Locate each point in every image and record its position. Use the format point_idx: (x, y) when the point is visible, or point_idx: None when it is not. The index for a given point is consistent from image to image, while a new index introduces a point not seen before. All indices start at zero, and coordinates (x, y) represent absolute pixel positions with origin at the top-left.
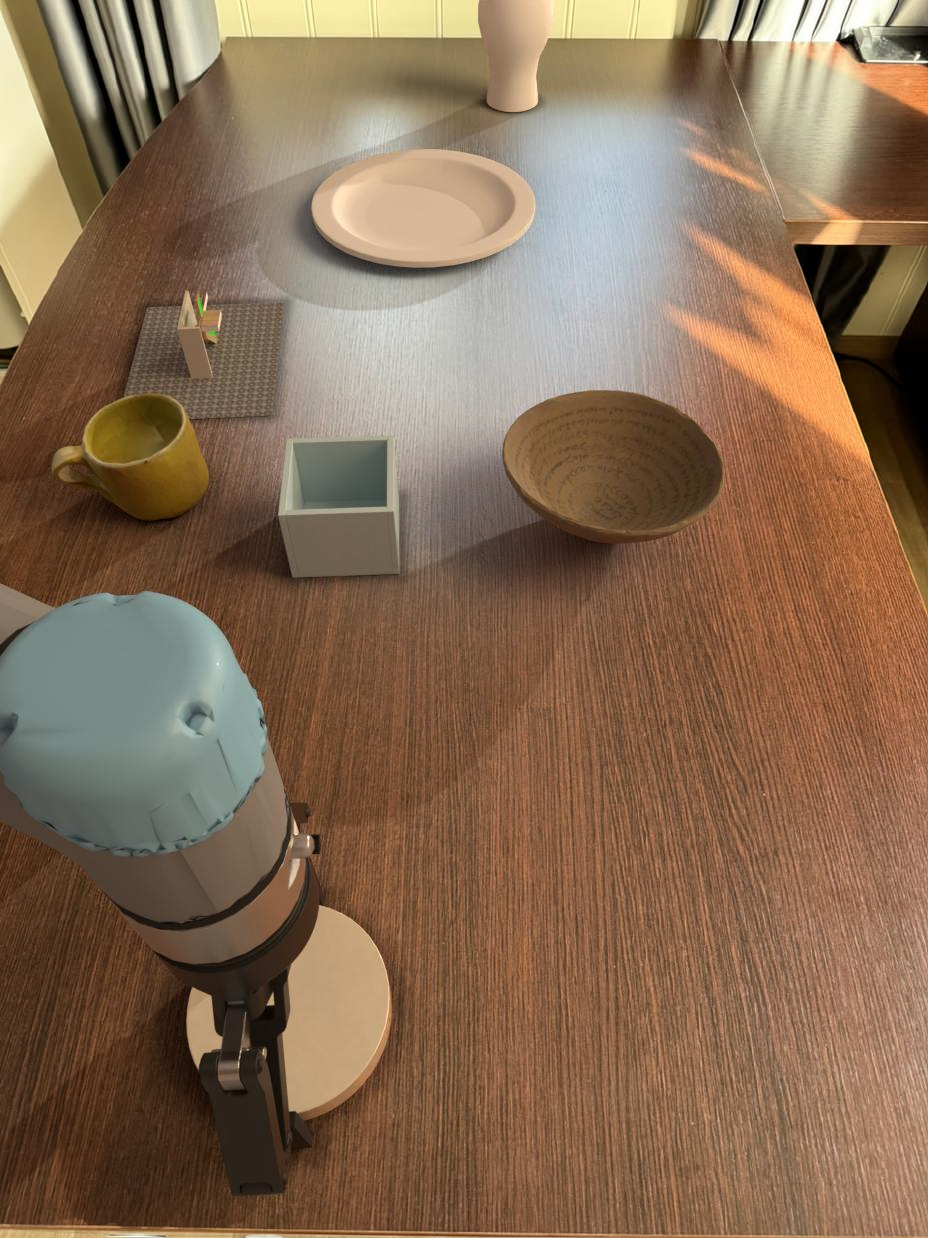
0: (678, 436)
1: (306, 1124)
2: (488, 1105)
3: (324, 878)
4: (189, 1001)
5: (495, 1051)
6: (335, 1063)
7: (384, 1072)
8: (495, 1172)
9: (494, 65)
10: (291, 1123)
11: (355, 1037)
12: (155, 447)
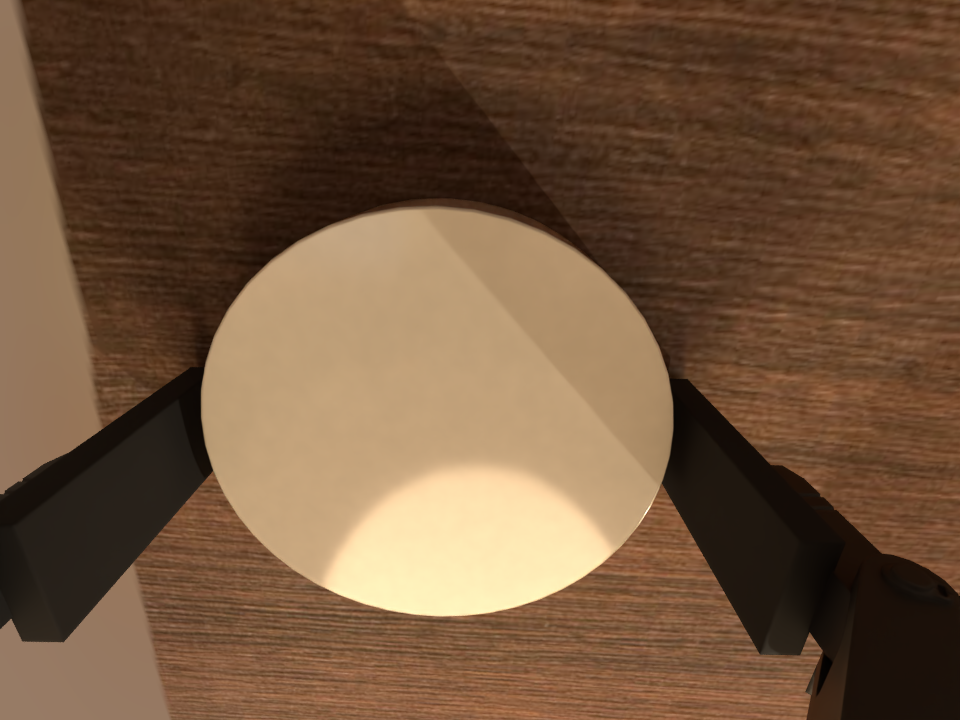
0: None
1: (184, 503)
2: (303, 660)
3: None
4: (452, 211)
5: (376, 672)
6: (315, 535)
7: None
8: (219, 662)
9: None
10: (29, 636)
11: (364, 568)
12: None
